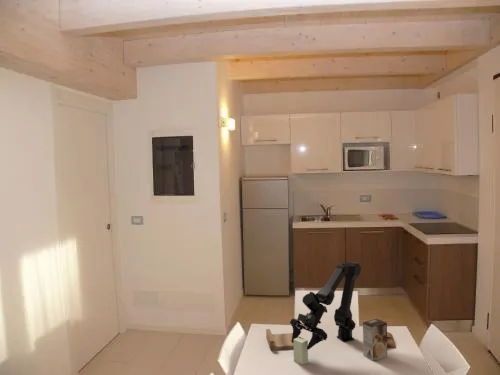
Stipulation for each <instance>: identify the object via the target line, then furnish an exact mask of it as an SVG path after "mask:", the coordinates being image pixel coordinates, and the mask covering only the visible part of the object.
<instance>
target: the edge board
mask: <svg viewBox="0 0 500 375" xmlns="http://www.w3.org/2000/svg"><path fill="white" fill-rule="evenodd" d="M265 332H266V333H265V335H266V336H265V337H266V341H267V344H268V347H269V350H270V351H275V350H276V351H277V350H278V351H279V350H291V349H292V350H294V343H292V335H293V332H289V333H273V334H272V331H271V329H270V328H266V329H265ZM298 337H299V336H298ZM298 337H297V338H298Z"/></svg>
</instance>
